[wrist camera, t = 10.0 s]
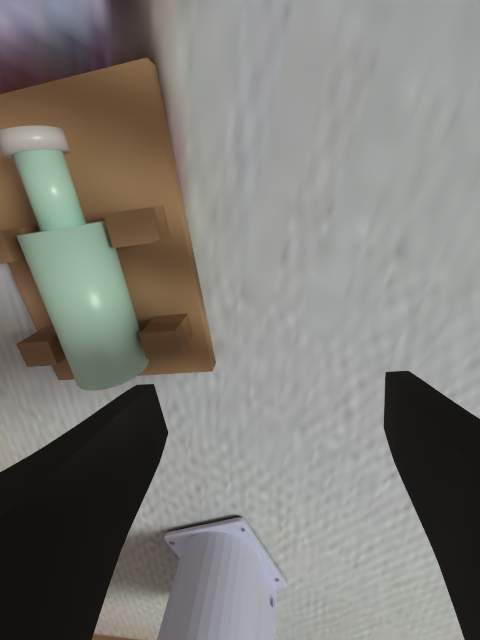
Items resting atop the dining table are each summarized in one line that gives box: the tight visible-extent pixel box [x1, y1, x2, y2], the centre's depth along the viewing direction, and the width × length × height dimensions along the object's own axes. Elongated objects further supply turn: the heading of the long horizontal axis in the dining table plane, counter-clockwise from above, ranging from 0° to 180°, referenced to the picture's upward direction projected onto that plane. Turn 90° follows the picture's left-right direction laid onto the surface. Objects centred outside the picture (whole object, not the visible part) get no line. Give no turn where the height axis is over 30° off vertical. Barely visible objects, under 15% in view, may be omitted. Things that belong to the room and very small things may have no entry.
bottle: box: [0, 125, 149, 390], centre depth 16 cm, size 12×4×4 cm, turn 8°
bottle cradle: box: [0, 58, 216, 380], centre depth 17 cm, size 16×11×3 cm
